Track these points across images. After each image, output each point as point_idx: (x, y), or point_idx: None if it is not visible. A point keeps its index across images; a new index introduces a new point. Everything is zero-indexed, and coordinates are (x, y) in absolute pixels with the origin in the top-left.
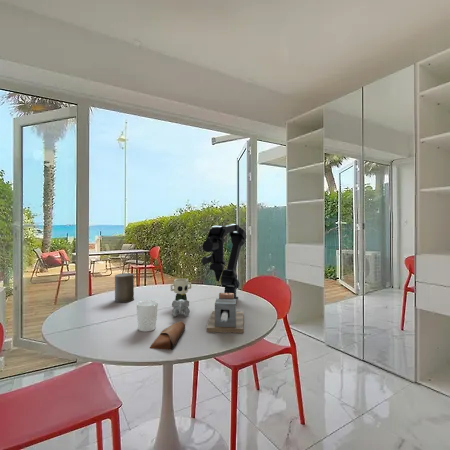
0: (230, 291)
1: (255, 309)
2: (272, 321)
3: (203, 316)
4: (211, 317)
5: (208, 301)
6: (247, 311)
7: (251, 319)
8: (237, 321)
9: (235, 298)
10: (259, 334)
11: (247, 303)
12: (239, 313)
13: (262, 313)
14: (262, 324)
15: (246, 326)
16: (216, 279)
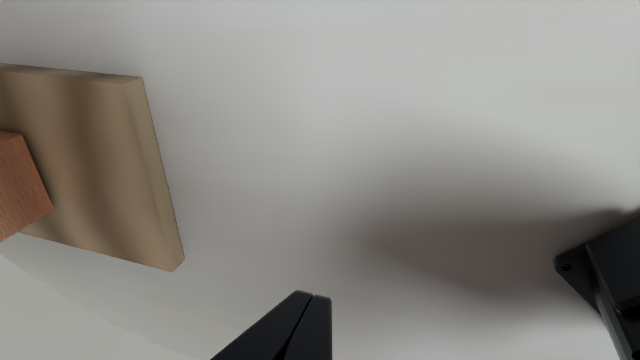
0: (619, 331)
1: None
2: (142, 337)
3: (76, 7)
4: (7, 80)
5: (562, 6)
6: (248, 293)
7: (135, 276)
8: None
9: (595, 308)
10: (10, 258)
11: (427, 341)
12: (136, 247)
13: None
14: (98, 296)
15: None
16: (266, 316)
